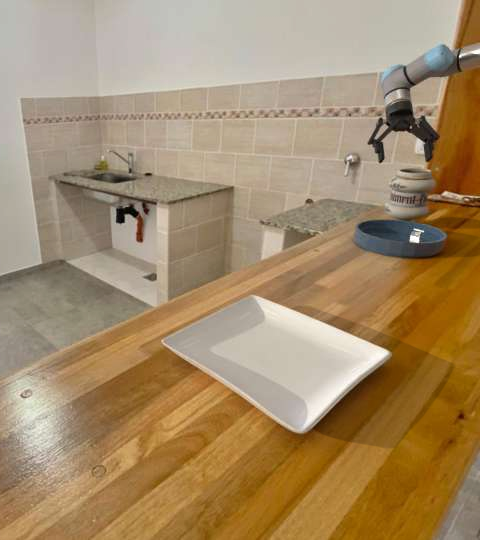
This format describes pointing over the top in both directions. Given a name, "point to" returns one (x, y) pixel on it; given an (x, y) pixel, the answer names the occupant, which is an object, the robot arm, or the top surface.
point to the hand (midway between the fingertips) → (405, 160)
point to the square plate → (278, 359)
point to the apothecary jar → (409, 194)
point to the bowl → (399, 238)
